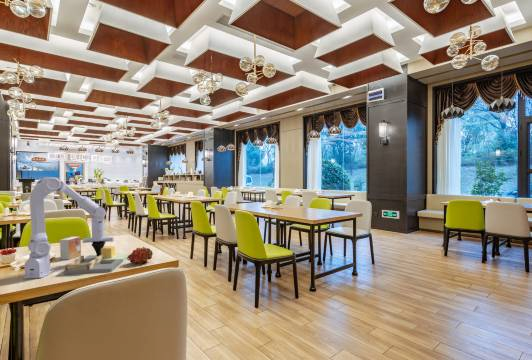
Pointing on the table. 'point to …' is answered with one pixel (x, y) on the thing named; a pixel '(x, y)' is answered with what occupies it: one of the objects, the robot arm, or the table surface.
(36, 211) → the robot arm
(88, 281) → the table surface
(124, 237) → the table surface
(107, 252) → the cube
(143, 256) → the red grape bunch
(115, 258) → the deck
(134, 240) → the table surface
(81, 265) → the shallow brown tray
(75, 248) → the small box
